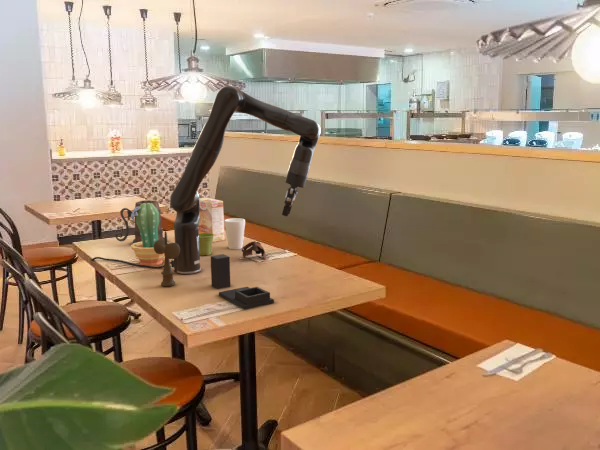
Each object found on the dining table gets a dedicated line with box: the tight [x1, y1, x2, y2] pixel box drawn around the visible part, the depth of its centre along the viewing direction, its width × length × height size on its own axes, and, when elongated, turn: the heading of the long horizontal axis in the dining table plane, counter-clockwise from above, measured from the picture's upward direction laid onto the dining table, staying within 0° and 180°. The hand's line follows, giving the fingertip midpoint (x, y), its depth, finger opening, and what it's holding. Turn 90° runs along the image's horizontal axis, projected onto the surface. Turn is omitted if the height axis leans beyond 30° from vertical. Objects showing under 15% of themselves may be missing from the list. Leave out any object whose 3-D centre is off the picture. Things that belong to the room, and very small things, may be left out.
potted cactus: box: [130, 203, 170, 266], centre depth 235 cm, size 15×15×25 cm
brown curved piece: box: [241, 240, 267, 260], centre depth 247 cm, size 12×10×8 cm
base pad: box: [218, 286, 275, 310], centre depth 192 cm, size 18×11×4 cm, turn 37°
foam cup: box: [224, 217, 246, 250], centre depth 264 cm, size 10×9×13 cm
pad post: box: [210, 253, 231, 290], centre depth 205 cm, size 5×5×11 cm
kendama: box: [154, 231, 180, 288], centre depth 205 cm, size 6×10×20 cm, turn 43°
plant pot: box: [199, 233, 214, 256], centre depth 252 cm, size 9×9×9 cm
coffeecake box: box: [199, 197, 226, 243], centre depth 282 cm, size 15×7×20 cm, turn 43°
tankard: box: [114, 199, 165, 246], centre depth 270 cm, size 24×17×20 cm
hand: (285, 214), depth 214 cm, fingers open, 8 cm apart
